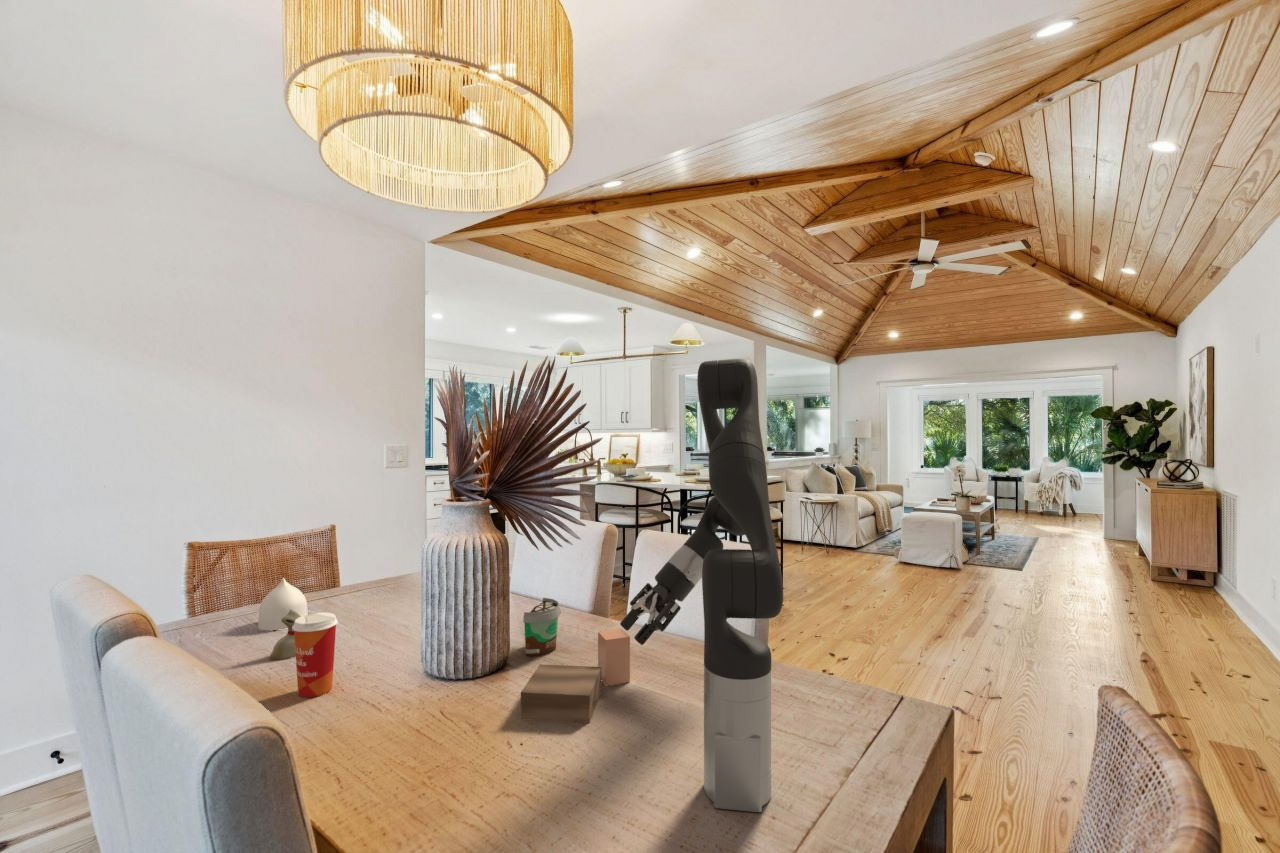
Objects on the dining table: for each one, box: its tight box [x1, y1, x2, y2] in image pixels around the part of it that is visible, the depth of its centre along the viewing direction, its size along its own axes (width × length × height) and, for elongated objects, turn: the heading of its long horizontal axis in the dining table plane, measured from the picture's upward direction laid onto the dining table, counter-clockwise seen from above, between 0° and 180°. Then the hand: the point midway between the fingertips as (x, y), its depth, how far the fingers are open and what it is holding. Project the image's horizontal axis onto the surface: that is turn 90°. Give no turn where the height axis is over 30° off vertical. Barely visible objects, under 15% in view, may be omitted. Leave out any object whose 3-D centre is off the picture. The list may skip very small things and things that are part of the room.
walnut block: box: [520, 664, 602, 724], centre depth 108 cm, size 12×12×5 cm
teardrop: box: [257, 576, 309, 631], centre depth 152 cm, size 11×11×12 cm
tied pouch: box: [269, 609, 301, 661], centre depth 132 cm, size 6×8×10 cm
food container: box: [522, 597, 562, 658], centre depth 134 cm, size 12×6×10 cm, turn 168°
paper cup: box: [292, 612, 339, 699], centre depth 113 cm, size 8×8×14 cm
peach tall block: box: [597, 628, 631, 687], centre depth 119 cm, size 5×5×9 cm
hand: (630, 634), depth 120 cm, fingers open, 8 cm apart
